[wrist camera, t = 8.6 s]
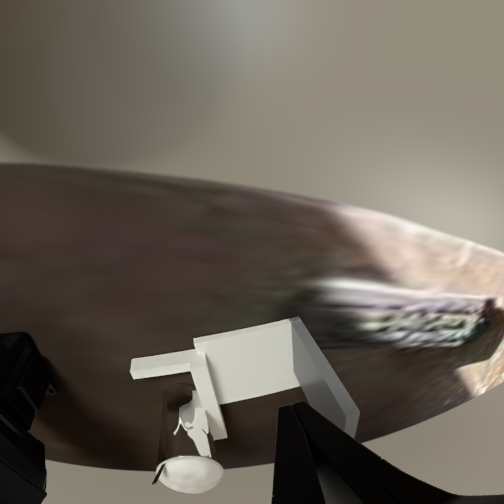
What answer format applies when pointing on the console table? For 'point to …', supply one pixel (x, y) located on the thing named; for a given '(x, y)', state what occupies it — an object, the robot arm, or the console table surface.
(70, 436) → the console table surface
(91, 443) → the console table surface
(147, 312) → the console table surface
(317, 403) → the white bracket
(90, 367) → the console table surface
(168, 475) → the milkshake
